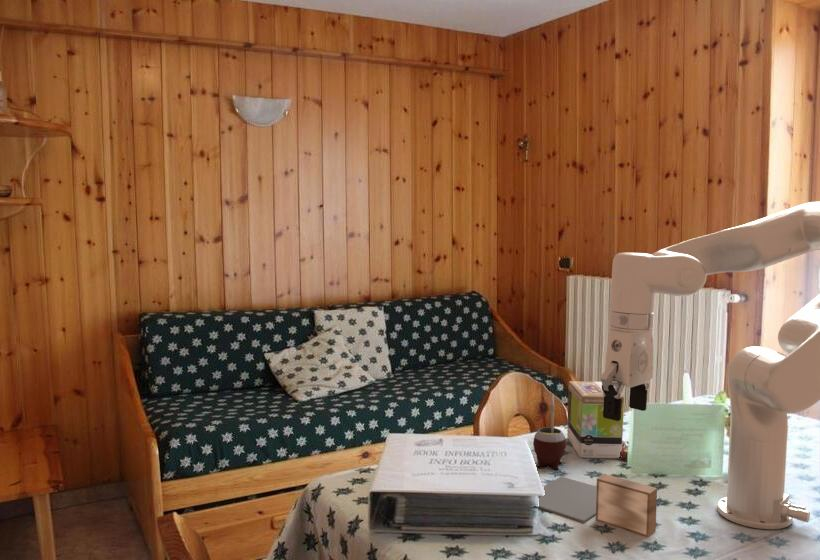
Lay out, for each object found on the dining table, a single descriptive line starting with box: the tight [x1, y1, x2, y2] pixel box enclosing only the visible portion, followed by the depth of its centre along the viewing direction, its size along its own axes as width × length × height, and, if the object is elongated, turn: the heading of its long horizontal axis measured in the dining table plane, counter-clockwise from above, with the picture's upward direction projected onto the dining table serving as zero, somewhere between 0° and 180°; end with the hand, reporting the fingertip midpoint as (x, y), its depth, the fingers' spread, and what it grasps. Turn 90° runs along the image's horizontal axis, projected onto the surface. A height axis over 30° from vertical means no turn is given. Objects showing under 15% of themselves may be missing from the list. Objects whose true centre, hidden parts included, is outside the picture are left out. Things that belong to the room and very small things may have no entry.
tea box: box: [566, 380, 625, 459], centre depth 168 cm, size 15×10×15 cm, turn 179°
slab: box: [595, 473, 658, 538], centre depth 127 cm, size 10×3×8 cm, turn 48°
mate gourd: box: [532, 393, 567, 472], centre depth 156 cm, size 8×8×15 cm
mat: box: [539, 476, 597, 524], centre depth 139 cm, size 14×16×1 cm
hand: (624, 413), depth 128 cm, fingers open, 9 cm apart
